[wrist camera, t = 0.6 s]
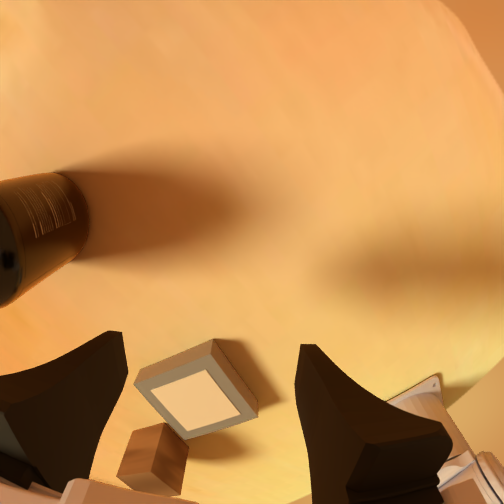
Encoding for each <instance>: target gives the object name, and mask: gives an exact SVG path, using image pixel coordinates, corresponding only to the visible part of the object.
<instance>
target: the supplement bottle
mask: <svg viewBox="0 0 504 504" xmlns="http://www.w3.org/2000/svg"><path fill="white" fill-rule="evenodd" d="M88 230H89V215H88V209H87V205H86V202H85V200H84V198H83V195H82V194H81V192H80V190H79V189H78V188H77V186H76V185H75V184H74V183H73V182H72V181H71V180H69V179H68V178H66V177H65V176H63V175H60V174H57V173H41V174H34V175H29V176H23V177H18V178H12V179H7V180H2V181H0V308H3V307H6V306H8V305H9V304H11V303H12V302H14V301H15V300H16V299H18V298H19V297H21V296H22V295H23V294H25V293H26V292H27V291H29V290H30V289H31V288H33V287H34V286H36V285H37V284H38V283H40V282H41V281H43V280H44V279H45V278H47V277H48V276H50V275H51V274H53V273H54V272H55V271H57V270H58V269H60V268H61V267H63V266H64V265H66V264H67V263H68V262H70V261H71V260H72V259H74V258H75V257H76V256H77V255H78V254H79V253H80V251H81V250H82V248H83V246H84V244H85V242H86V239H87V236H88Z"/></svg>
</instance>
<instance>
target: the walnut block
mask: <svg viewBox="0 0 504 504" xmlns="http://www.w3.org/2000/svg"><path fill="white" fill-rule="evenodd" d="M188 450H189V447H188V446H187V445H186V444H185V443H184V442H183V441H182V440H181V439H180V438H179V437H178V436H177V435H176V434H175V433H174V432H173V431H172V430H171V429H170V428H169V427H168V426H167V425H166V424H165V423H160V424H157V425H153V426H150V427H146V428H142V429H139V430H135V431H133V432H132V434H131V437H130V440H129V443H128V445H127V448H126V451H125V453H124V456H123V459H122V462H121V465H120V467H119V470H118V473H117V476H116V477H118V478H119V479H120V480H121V481H123V482H124V483H125V484H126V485H128V486H129V487H130V488H132V489H133V490H135V491H140V492H145V493H150V494H156V495H162V496H168V497H171V496H178V495H181V489H182V483H183V478H184V472H185V466H186V461H187V455H188Z"/></svg>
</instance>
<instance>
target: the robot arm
mask: <svg viewBox="0 0 504 504" xmlns="http://www.w3.org/2000/svg"><path fill="white" fill-rule="evenodd" d="M127 375H128V367H127V361H126V355H125V349H124V342H123V336H122V332H117V331H107V332H104V333H102V334H101V335H99V336H97V337H95V338H93V339H92V340H90V341H88V342H87V343H85V344H83V345H81V346H80V347H78V348H76V349H74V350H72V351H70V352H69V353H67V354H65V355H63V356H61V357H59V358H57V359H55V360H52V361H50V362H48V363H45V364H43V365H40V366H37V367H35V368H31V369H28V370H24V371H21V372H17V373H13V374H8V375H2V376H0V504H199V503H197V502H193V501H188V500H184V499H180V498H175V497H168V496H162V495H156V494H150V493H145V492H140V491H135V490H130V489H126V488H121V487H117V486H113V485H109V484H105V483H102V482H98V481H94V480H89V475H90V470H91V467H92V463H93V459H94V455H95V452H96V449H97V446H98V443H99V439H100V436H101V434H102V432H103V429H104V427H105V425H106V423H107V421H108V419H109V417H110V415H111V413H112V411H113V409H114V407H115V405H116V403H117V401H118V399H119V397H120V395H121V393H122V390H123V387H124V384H125V381H126V378H127ZM434 383H435V384H434ZM294 385H295V396H296V405H297V409H298V414H299V418H300V422H301V426H302V430H303V434H304V438H305V442H306V447H307V452H308V459H309V468H310V478H311V490H312V504H504V467H503V466H502V464H501V463H500V462H499V461H498V459H497V458H496V457H495V456H494V455H493V454H492V453H491V452H483V451H482V452H480V453H479V454H478V455H477V456H476V455H475V454H474V453H473V451H472V449H471V448H470V446H469V445H468V443H467V442H466V440H465V439H464V437H463V435H462V434H461V432H460V431H459V429H458V428H457V426H456V425H455V423H454V422H453V420H452V419H451V417H450V416H449V414H448V413H447V411H446V410H445V408H444V406H443V399H442V393H441V388H440V382H439V378H438V376H436V375H434V376H432V377H430V378H428V379H427V380H425V381H423V382H421V383H420V384H418V385H416V386H415V387H413V388H411V389H409V390H407V391H406V392H404V393H402V394H400V395H398V396H396V397H395V398H393V399H391V400H389V401H387V402H385V401H383V400H381V399H380V398H378V397H376V396H375V395H373V394H372V393H370V392H369V391H367V390H365V389H364V388H363V387H361V386H360V385H359V384H357V383H356V382H355V381H354V380H352V379H351V378H350V377H349V376H347V375H346V374H345V373H344V372H343V371H342V370H341V369H340V368H339V367H338V366H337V365H336V364H334V363H333V362H332V361H331V360H330V358H329V357H328V356H327V355H326V354H325V353H324V352H323V351H322V350H321V349H320V348H319V347H318V346H317V345H316V344H301V345H300V352H299V358H298V365H297V371H296V377H295V383H294Z"/></svg>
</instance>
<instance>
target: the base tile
mask: <svg viewBox="0 0 504 504" xmlns="http://www.w3.org/2000/svg"><path fill="white" fill-rule="evenodd" d="M133 385H134V386H135V387H136V388H137V389H138V390H139V392H140V393H141V394H142V395H143V396H144V397H145V398H146V400H147V401H148V402H149V403H150V404H151V405H152V406H153V407H154V409H155V410H156V411H157V412H158V413H159V414H160V415H161V416H162V417H163V418H164V419H165V420H166V421H167V423H168V424H169V425H170V426H171V427H172V428H173V429H174V430H175V431H176V432H177V433H178V434H179V435H180V436H181V437H182V438H183V439H184V440H187V439H191V438H194V437H198V436H201V435H205V434H208V433H212V432H215V431H218V430H221V429H225V428H228V427H231V426H234V425H237V424H240V423H243V422H246V421H249V420H252V419H254V418H257V417H258V401H257V399H256V398H255V397H254V395H253V394H252V393H251V391H250V390H249V388H248V387H247V386H246V384H245V383H244V382H243V380H242V379H241V378H240V376H239V375H238V373H237V372H236V371H235V369H234V368H233V366H232V365H231V364H230V362H229V361H228V359H227V358H226V357H225V355H224V354H223V352H222V351H221V349H220V348H219V347H218V345H217V344H216V342H215V341H214V339H211V340H209V341H207V342H205V343H202V344H200V345H198V346H195V347H193V348H191V349H188V350H186V351H184V352H181V353H179V354H177V355H174V356H172V357H170V358H167V359H165V360H162V361H160V362H157V363H155V364H153V365H150V366H148V367H145V368H143V369H140V371H139V373H138V375H137V378H136V380H135V382H134V384H133Z"/></svg>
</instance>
